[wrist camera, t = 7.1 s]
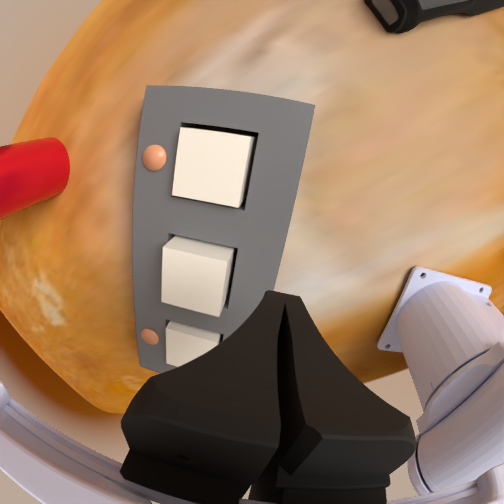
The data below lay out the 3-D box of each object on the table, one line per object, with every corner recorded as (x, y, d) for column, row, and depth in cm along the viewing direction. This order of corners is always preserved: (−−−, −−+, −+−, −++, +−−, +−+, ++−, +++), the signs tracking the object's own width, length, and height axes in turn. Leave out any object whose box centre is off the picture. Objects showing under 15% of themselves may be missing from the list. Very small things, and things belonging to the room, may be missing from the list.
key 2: (226, 316, 23) (217, 342, 20) (220, 351, 24) (212, 376, 21) (179, 305, 23) (165, 328, 20) (178, 339, 25) (166, 363, 22)
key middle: (237, 241, 19) (227, 261, 16) (229, 291, 21) (219, 317, 18) (181, 229, 19) (162, 247, 16) (177, 279, 21) (161, 301, 18)
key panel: (311, 109, 16) (315, 104, 13) (248, 376, 25) (244, 397, 23) (163, 90, 16) (145, 85, 14) (150, 349, 26) (139, 367, 23)
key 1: (257, 137, 17) (250, 136, 14) (247, 196, 19) (238, 207, 16) (198, 128, 17) (180, 127, 14) (190, 185, 19) (171, 195, 16)
